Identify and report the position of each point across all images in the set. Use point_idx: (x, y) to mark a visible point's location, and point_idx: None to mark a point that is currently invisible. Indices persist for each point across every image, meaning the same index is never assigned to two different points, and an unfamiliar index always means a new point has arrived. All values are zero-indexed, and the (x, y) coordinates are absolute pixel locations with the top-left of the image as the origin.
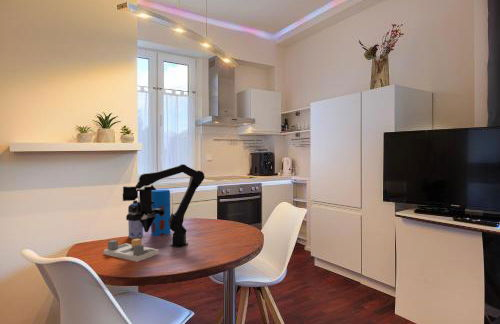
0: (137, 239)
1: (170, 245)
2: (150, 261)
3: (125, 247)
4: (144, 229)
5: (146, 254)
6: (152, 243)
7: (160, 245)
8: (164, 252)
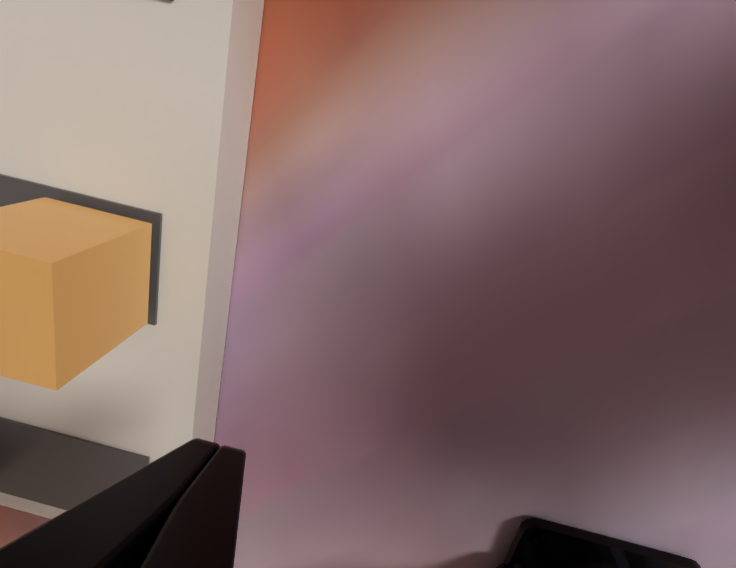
0: (6, 331)
1: (523, 524)
2: (8, 534)
3: (37, 44)
4: (119, 496)
5: (12, 499)
6: (640, 198)
7: (536, 383)
8: (273, 544)
